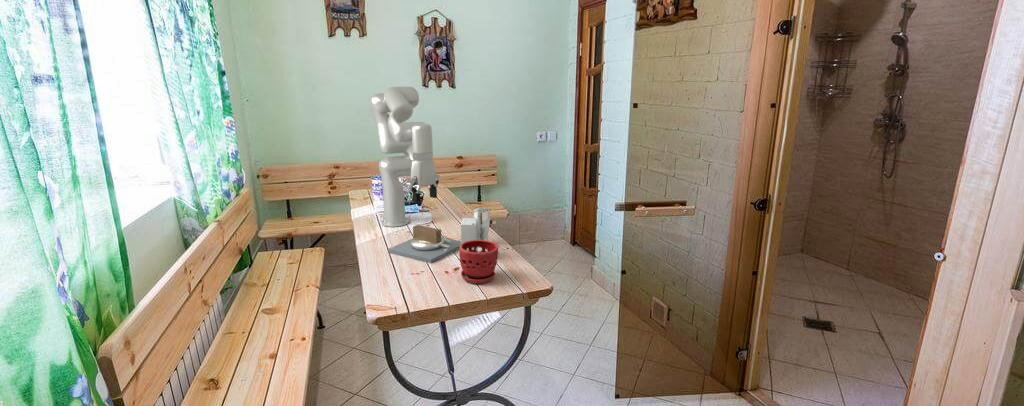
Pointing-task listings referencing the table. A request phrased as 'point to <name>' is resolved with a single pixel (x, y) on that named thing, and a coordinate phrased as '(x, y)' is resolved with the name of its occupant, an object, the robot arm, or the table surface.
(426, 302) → the table surface
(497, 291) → the table surface
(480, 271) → the plant pot
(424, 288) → the table surface
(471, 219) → the skincare box
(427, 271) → the table surface
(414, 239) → the tuning dial
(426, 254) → the dial plate
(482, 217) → the beer glass
